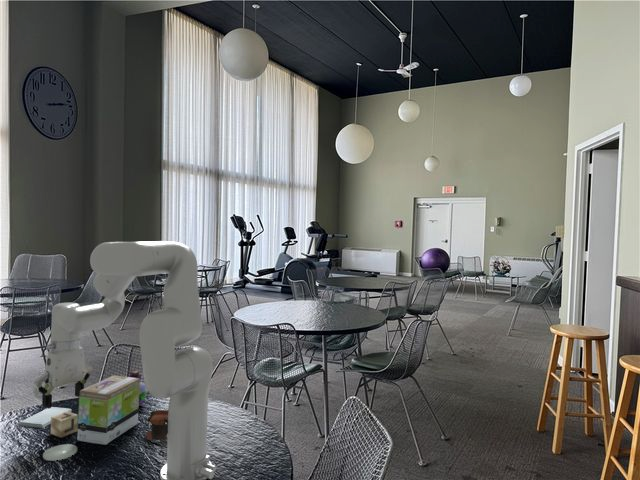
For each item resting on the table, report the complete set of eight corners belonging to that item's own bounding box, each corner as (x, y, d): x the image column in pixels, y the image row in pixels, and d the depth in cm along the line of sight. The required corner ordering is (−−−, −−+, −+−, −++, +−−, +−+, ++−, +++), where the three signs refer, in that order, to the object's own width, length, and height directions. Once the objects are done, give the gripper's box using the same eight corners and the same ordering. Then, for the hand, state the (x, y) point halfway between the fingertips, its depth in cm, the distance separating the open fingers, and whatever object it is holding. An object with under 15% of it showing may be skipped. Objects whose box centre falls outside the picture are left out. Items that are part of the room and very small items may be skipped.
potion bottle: (143, 410, 149) (144, 375, 149) (116, 411, 148) (117, 375, 148) (150, 400, 158) (150, 367, 157) (124, 401, 157) (125, 367, 156)
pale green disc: (83, 450, 122) (83, 449, 122) (54, 463, 114) (54, 462, 114) (65, 443, 125) (65, 441, 125) (36, 455, 118) (36, 453, 118)
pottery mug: (136, 441, 129) (141, 411, 133) (158, 443, 137) (162, 414, 141) (169, 438, 125) (173, 407, 129) (190, 440, 133) (193, 411, 137)
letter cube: (77, 431, 133) (78, 414, 133) (61, 438, 129) (61, 420, 129) (67, 427, 135) (67, 410, 135) (50, 433, 131) (51, 416, 131)
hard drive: (42, 424, 134) (71, 408, 147) (18, 421, 136) (49, 406, 148) (42, 429, 134) (71, 413, 147) (18, 427, 136) (49, 411, 148)
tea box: (107, 446, 125) (108, 393, 124) (76, 441, 127) (77, 390, 126) (139, 423, 140) (140, 376, 139) (111, 419, 142) (112, 373, 141)
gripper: (43, 353, 122) (41, 415, 123) (100, 341, 138) (98, 395, 138) (27, 349, 126) (25, 408, 126) (84, 337, 141) (82, 390, 142)
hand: (63, 401), depth 132 cm, fingers open, 9 cm apart
